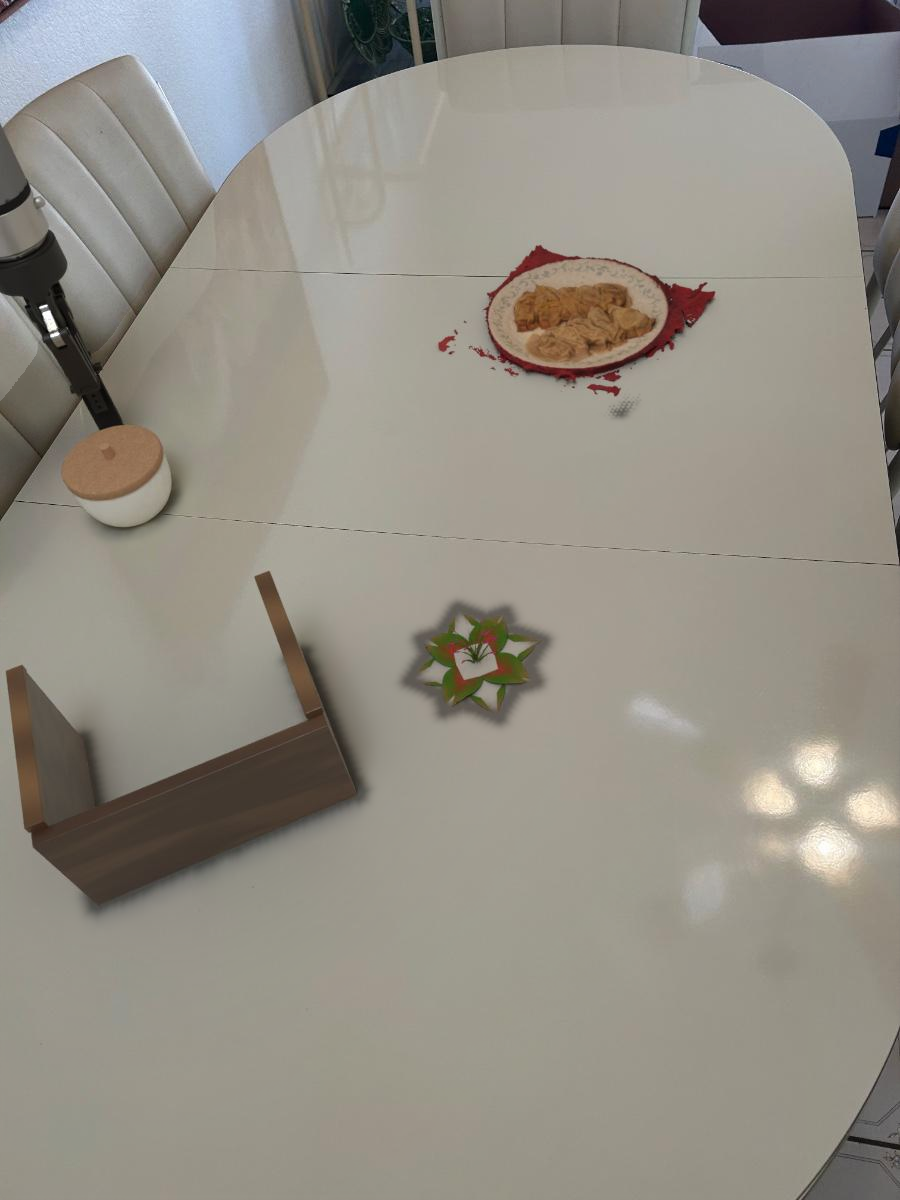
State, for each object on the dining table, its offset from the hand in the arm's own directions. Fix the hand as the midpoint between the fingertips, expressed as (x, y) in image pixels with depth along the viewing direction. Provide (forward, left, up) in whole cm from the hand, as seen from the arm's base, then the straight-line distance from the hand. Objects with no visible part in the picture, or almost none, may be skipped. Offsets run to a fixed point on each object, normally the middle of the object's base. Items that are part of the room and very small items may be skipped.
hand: (111, 425), depth 110 cm
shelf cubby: (+29, -38, -3) cm, 48 cm away
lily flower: (+50, -23, -3) cm, 55 cm away
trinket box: (+7, -10, -3) cm, 12 cm away
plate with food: (+50, +28, -3) cm, 57 cm away
